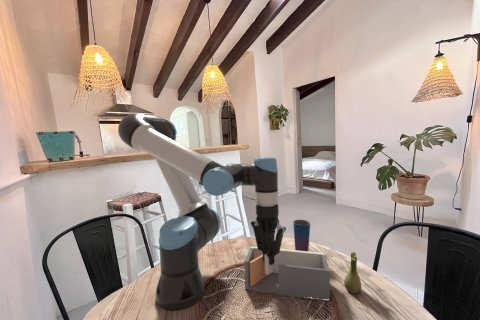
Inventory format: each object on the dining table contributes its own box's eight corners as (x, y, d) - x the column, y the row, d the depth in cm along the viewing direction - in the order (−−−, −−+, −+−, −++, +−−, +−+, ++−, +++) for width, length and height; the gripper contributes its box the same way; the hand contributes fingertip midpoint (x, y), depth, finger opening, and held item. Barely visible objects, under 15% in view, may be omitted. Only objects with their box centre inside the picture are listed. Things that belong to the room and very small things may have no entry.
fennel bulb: (355, 298, 65) (356, 260, 64) (340, 289, 69) (340, 253, 68) (364, 290, 68) (365, 254, 68) (349, 282, 72) (349, 248, 72)
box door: (251, 286, 70) (251, 262, 69) (250, 285, 70) (249, 261, 70) (268, 274, 76) (267, 253, 75) (266, 273, 76) (266, 252, 76)
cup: (311, 262, 86) (311, 225, 85) (293, 260, 87) (293, 224, 86) (309, 253, 92) (309, 219, 91) (293, 252, 94) (292, 219, 93)
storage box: (245, 289, 70) (244, 261, 69) (251, 270, 81) (250, 246, 80) (329, 301, 64) (329, 271, 63) (324, 279, 74) (324, 253, 74)
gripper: (289, 204, 69) (291, 274, 70) (258, 198, 78) (260, 261, 79) (277, 209, 64) (279, 285, 65) (245, 203, 72) (247, 270, 73)
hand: (269, 272), depth 72 cm, fingers closed
